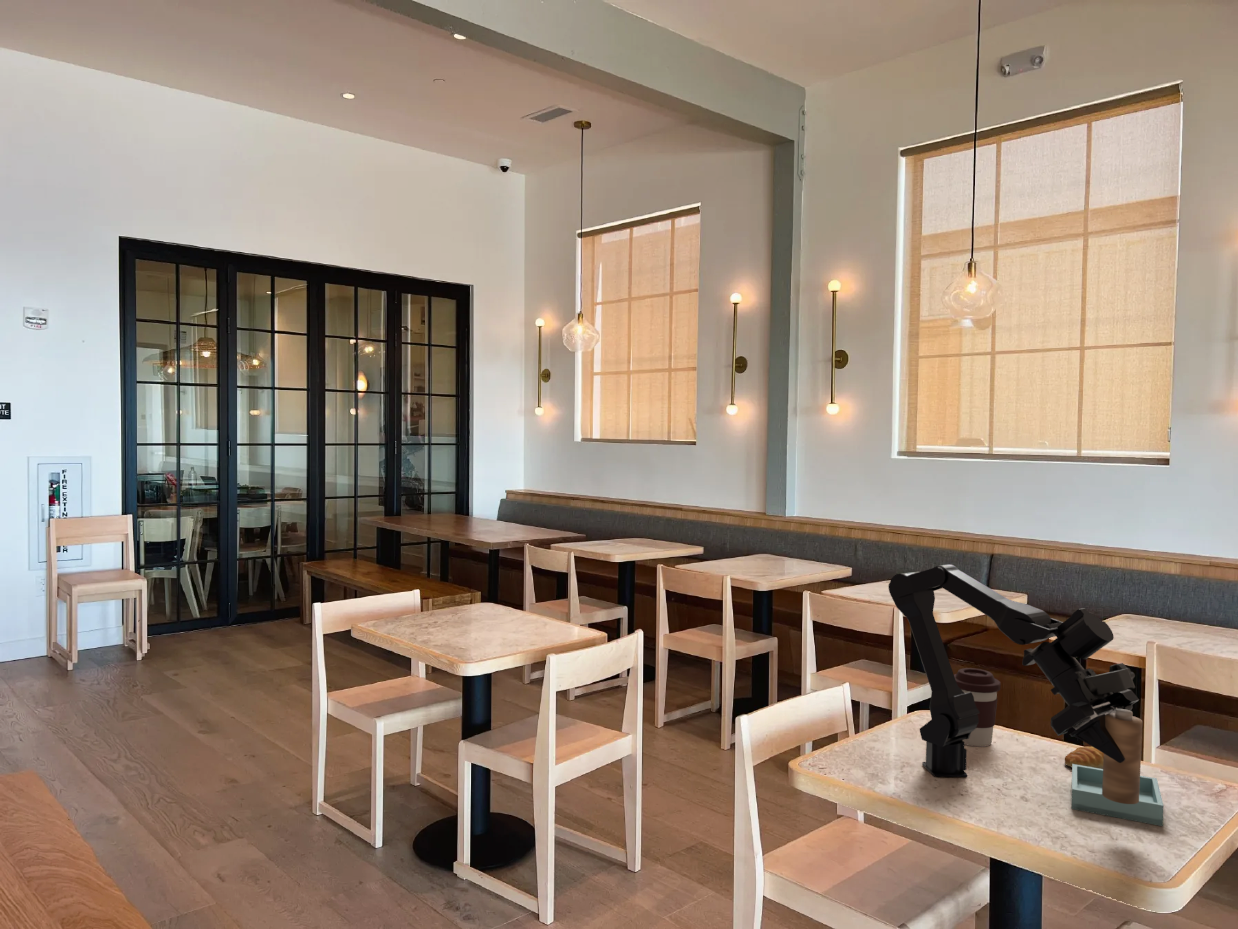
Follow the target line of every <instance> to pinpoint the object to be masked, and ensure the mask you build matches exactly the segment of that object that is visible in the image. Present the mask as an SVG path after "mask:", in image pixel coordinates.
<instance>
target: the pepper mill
mask: <svg viewBox="0 0 1238 929" xmlns="http://www.w3.org/2000/svg"><path fill="white" fill-rule="evenodd" d="M1133 715H1134V713H1133V711H1132V710H1131V711H1130V710H1126V709H1116V712H1115V713H1110V714H1106V715H1105V726H1106V729H1107V730H1108V732H1109V733H1110V735H1111V737H1112V738H1113V740H1114V741H1115V743H1116V744H1117V746H1118V747H1119V749H1120V751H1121V752H1122V754H1123V756H1124V758H1125V761H1123V762H1121V763H1119V762H1117V761H1115V760H1114V759H1112V758H1110V757H1109V756H1107V755H1106V754H1104V762H1103V785H1102V795H1103V796H1104V797H1105V798H1107V799H1109V800H1111V801H1114V802H1118V803H1123V804H1136V803H1138V802H1139V789H1140V776H1141V763H1142V762H1141V761H1142V754H1141V751H1142V741H1143V738H1142V737H1143V720H1142V719H1141V718H1140V717H1136V716H1133Z"/></svg>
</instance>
